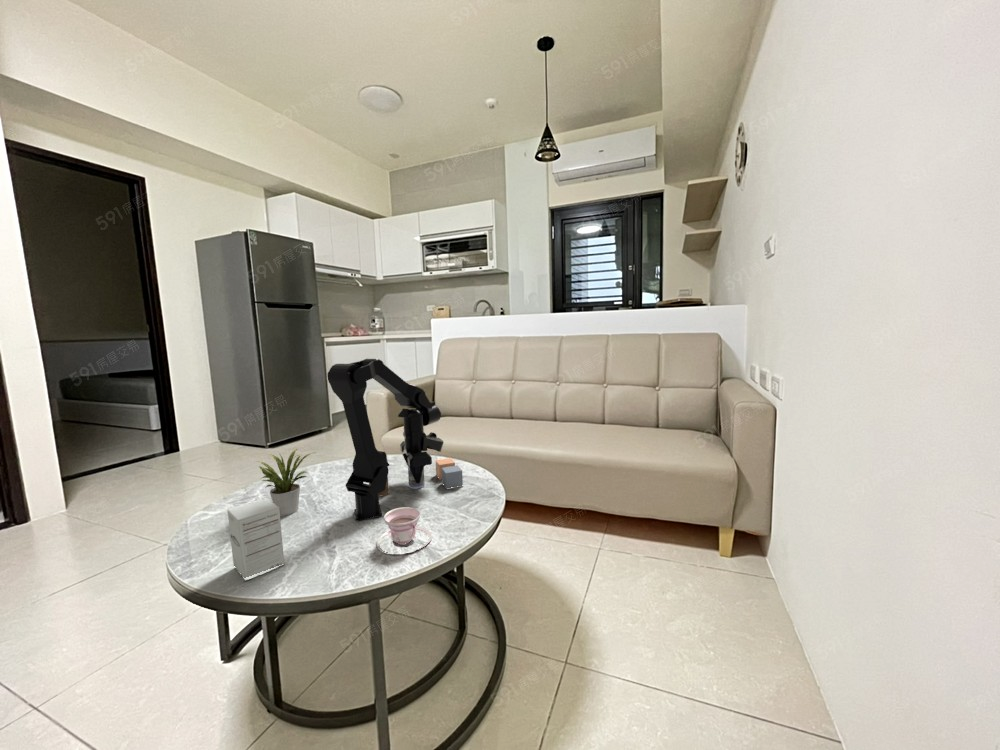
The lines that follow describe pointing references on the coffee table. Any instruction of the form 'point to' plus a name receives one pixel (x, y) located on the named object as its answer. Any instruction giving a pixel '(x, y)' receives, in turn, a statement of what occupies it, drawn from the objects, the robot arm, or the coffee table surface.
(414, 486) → the pill bottle
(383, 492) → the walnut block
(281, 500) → the house plant
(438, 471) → the terracotta block
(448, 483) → the slate-grey block
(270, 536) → the supplement box
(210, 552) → the coffee table surface
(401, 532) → the teacup
